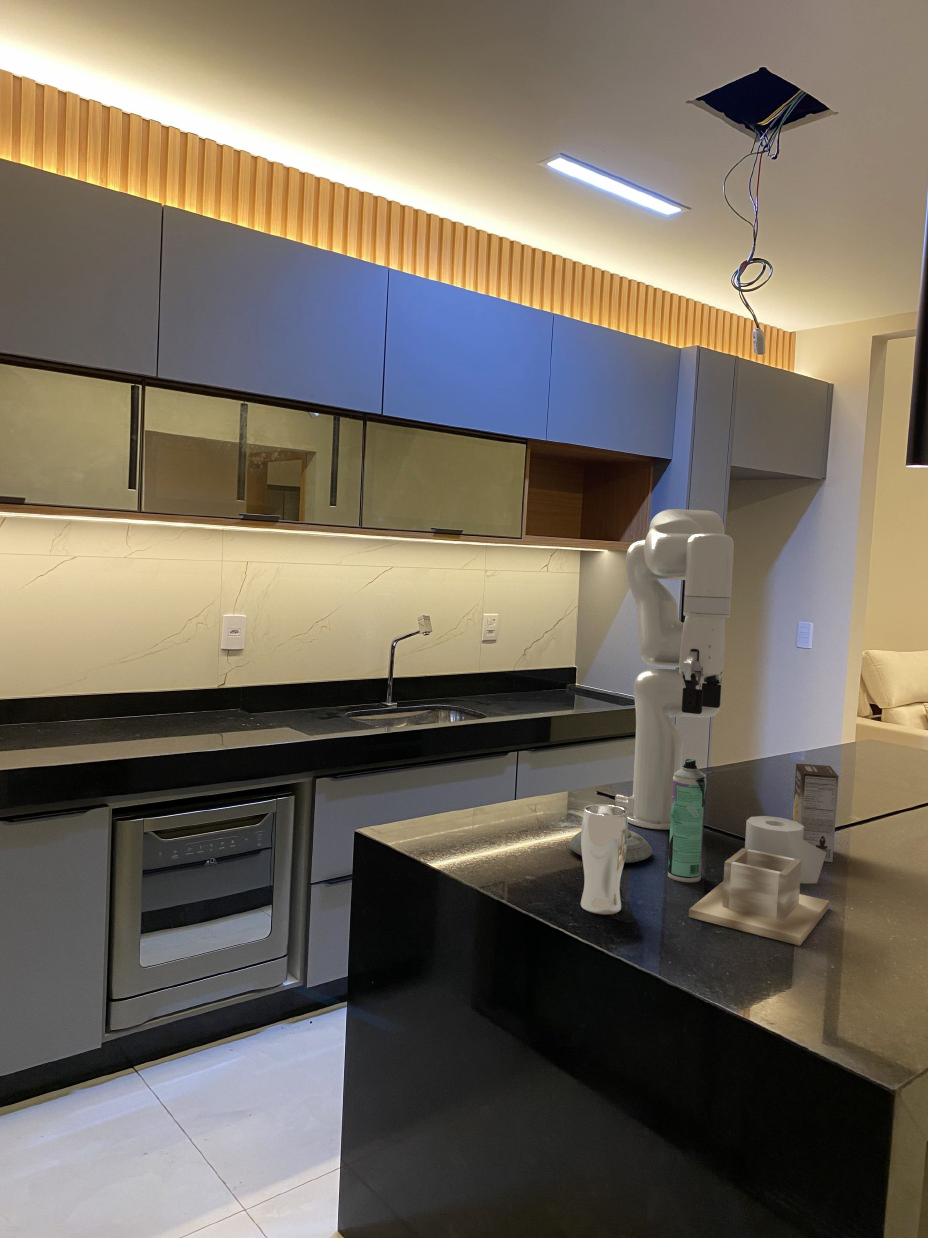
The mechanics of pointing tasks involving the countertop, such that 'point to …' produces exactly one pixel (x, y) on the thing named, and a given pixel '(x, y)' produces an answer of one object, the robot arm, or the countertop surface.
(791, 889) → the can caddy
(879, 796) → the countertop surface
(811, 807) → the coffee box
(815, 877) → the toilet tissue
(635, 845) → the flying saucer
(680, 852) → the spray can
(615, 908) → the beer glass
